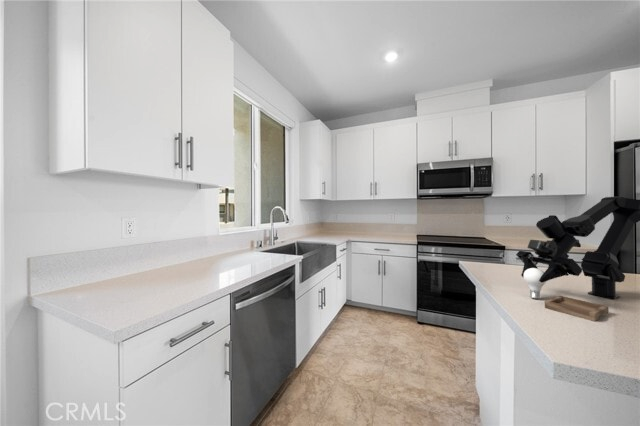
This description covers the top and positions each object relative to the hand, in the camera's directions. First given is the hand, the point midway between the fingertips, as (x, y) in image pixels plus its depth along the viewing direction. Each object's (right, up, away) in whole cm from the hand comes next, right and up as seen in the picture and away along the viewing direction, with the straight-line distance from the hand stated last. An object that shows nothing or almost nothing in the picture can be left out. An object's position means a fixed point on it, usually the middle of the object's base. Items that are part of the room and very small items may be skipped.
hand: (531, 279), depth 86 cm
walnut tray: (+5, -7, -11) cm, 14 cm away
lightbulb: (+1, -7, 0) cm, 7 cm away
